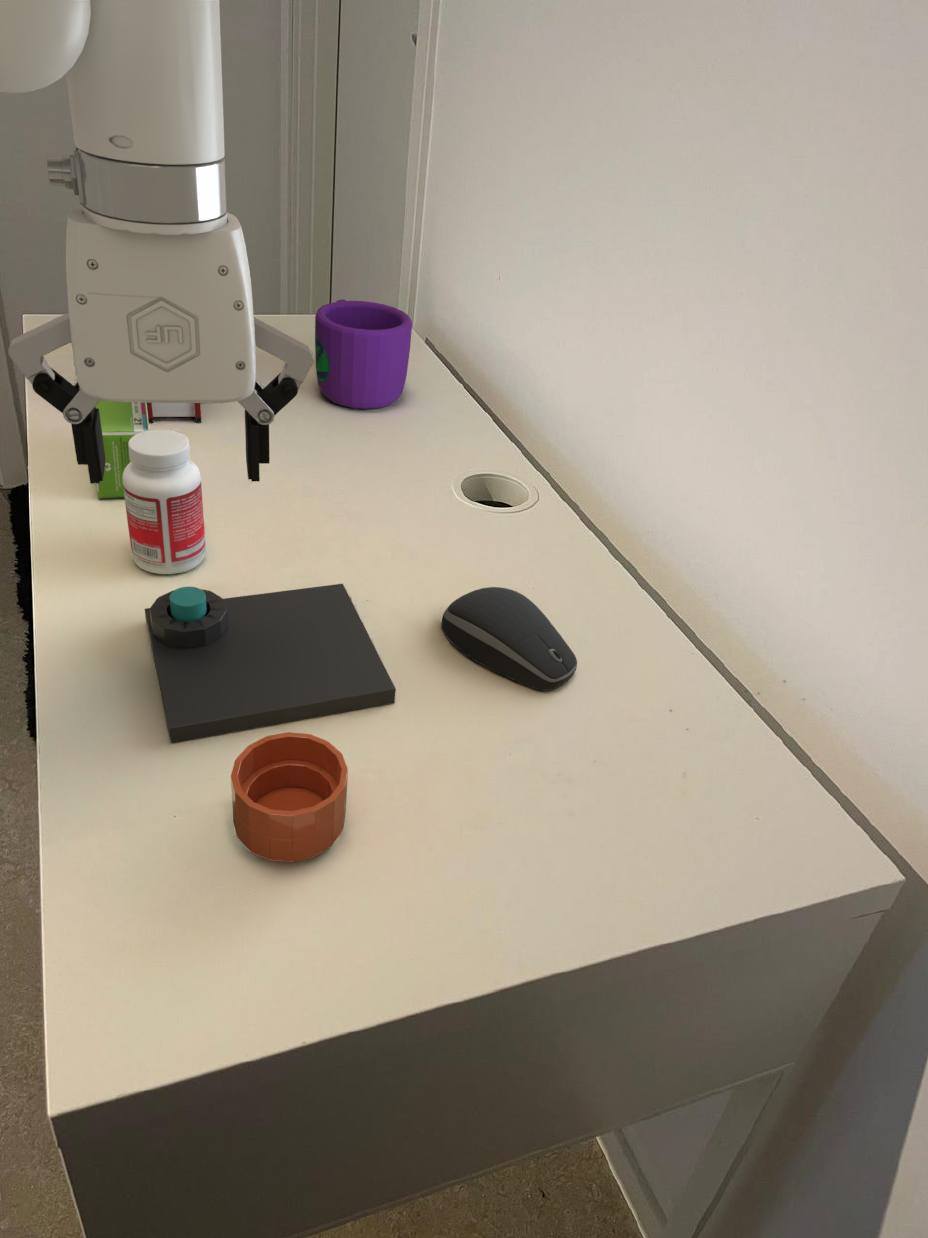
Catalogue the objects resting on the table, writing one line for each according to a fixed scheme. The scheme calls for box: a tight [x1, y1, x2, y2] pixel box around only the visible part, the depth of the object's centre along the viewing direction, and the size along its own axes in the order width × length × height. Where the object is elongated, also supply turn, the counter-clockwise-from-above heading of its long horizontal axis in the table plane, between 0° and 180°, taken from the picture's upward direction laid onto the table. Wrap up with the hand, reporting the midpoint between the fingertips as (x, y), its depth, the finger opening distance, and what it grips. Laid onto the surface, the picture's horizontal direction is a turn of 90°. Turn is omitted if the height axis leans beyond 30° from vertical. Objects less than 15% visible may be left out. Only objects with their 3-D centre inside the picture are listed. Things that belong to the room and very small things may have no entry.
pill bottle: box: [122, 429, 207, 575], centre depth 75 cm, size 6×6×11 cm
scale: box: [144, 583, 397, 744], centre depth 68 cm, size 16×14×3 cm
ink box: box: [95, 400, 150, 500], centre depth 85 cm, size 10×5×14 cm, turn 18°
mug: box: [314, 298, 413, 410], centre depth 111 cm, size 17×11×10 cm, turn 24°
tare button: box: [170, 586, 207, 622], centre depth 68 cm, size 3×3×2 cm
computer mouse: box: [441, 586, 578, 691], centre depth 73 cm, size 7×12×4 cm, turn 49°
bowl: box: [230, 731, 349, 863], centre depth 55 cm, size 7×7×5 cm
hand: (177, 472), depth 59 cm, fingers open, 9 cm apart
